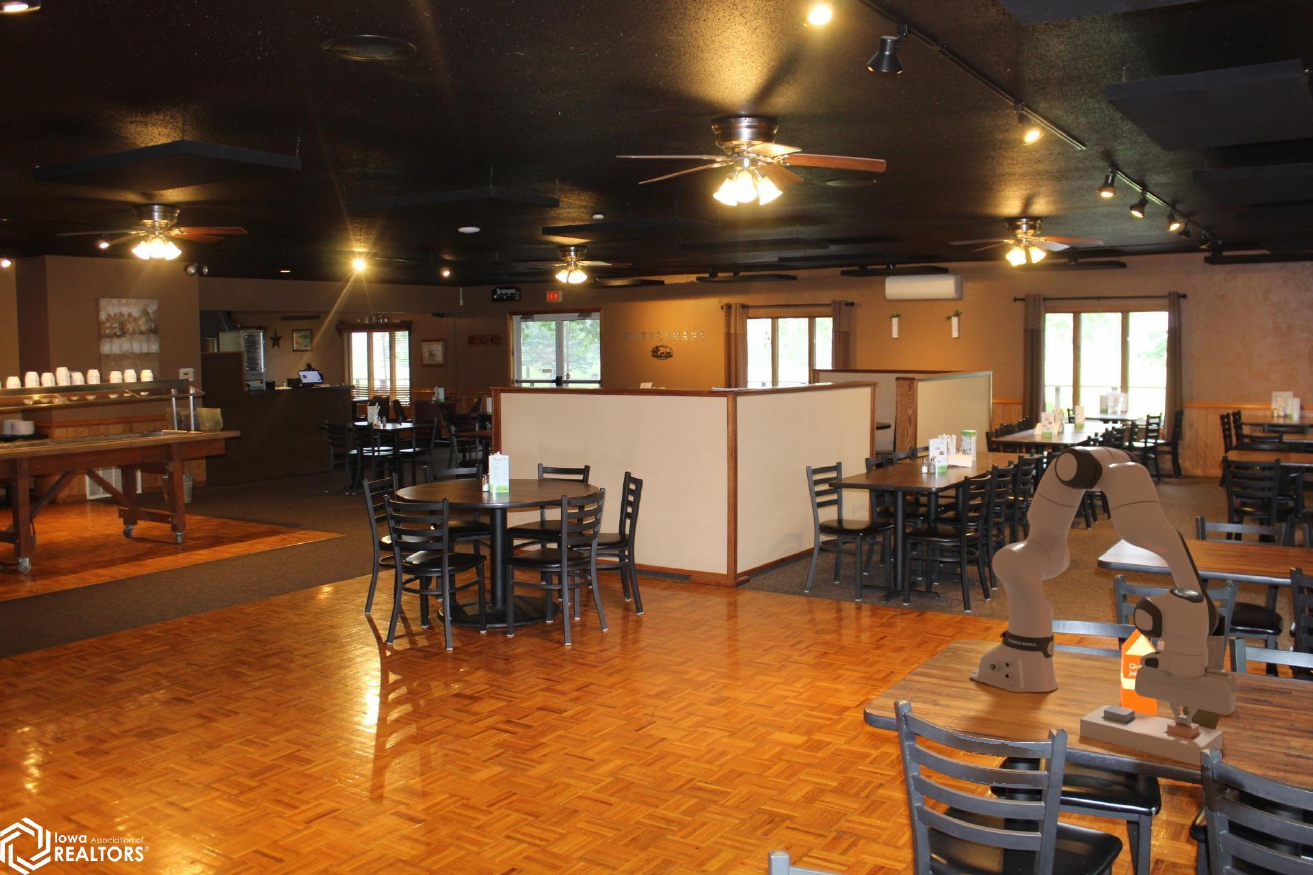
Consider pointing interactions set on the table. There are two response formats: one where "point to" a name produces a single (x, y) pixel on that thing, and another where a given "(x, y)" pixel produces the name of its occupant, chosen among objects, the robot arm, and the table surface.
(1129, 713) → the slate key
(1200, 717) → the squeeze bottle
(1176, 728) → the terracotta key
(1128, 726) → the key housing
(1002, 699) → the table surface
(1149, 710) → the orange juice
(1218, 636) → the spray can
